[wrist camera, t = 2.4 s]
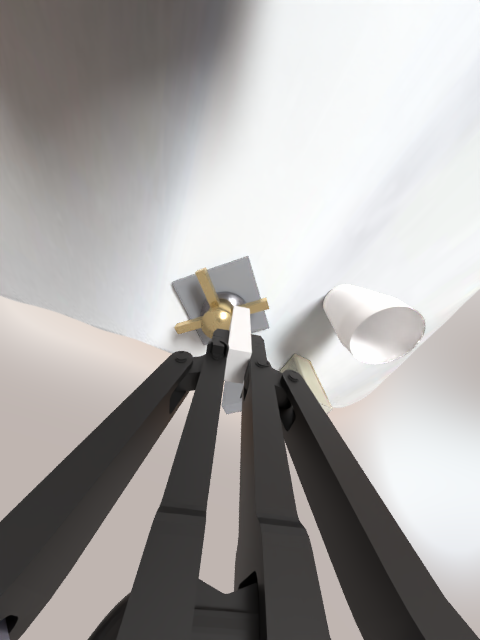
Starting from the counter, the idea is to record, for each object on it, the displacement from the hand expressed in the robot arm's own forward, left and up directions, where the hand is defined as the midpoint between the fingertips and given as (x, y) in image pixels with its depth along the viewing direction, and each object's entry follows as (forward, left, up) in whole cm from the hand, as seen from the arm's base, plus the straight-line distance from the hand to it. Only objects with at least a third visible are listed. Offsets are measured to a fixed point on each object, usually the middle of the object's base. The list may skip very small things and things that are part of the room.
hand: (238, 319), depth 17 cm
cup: (+10, +16, -16) cm, 25 cm away
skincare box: (+23, +5, -16) cm, 29 cm away
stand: (+7, -5, -16) cm, 18 cm away
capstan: (+5, -5, -15) cm, 16 cm away
